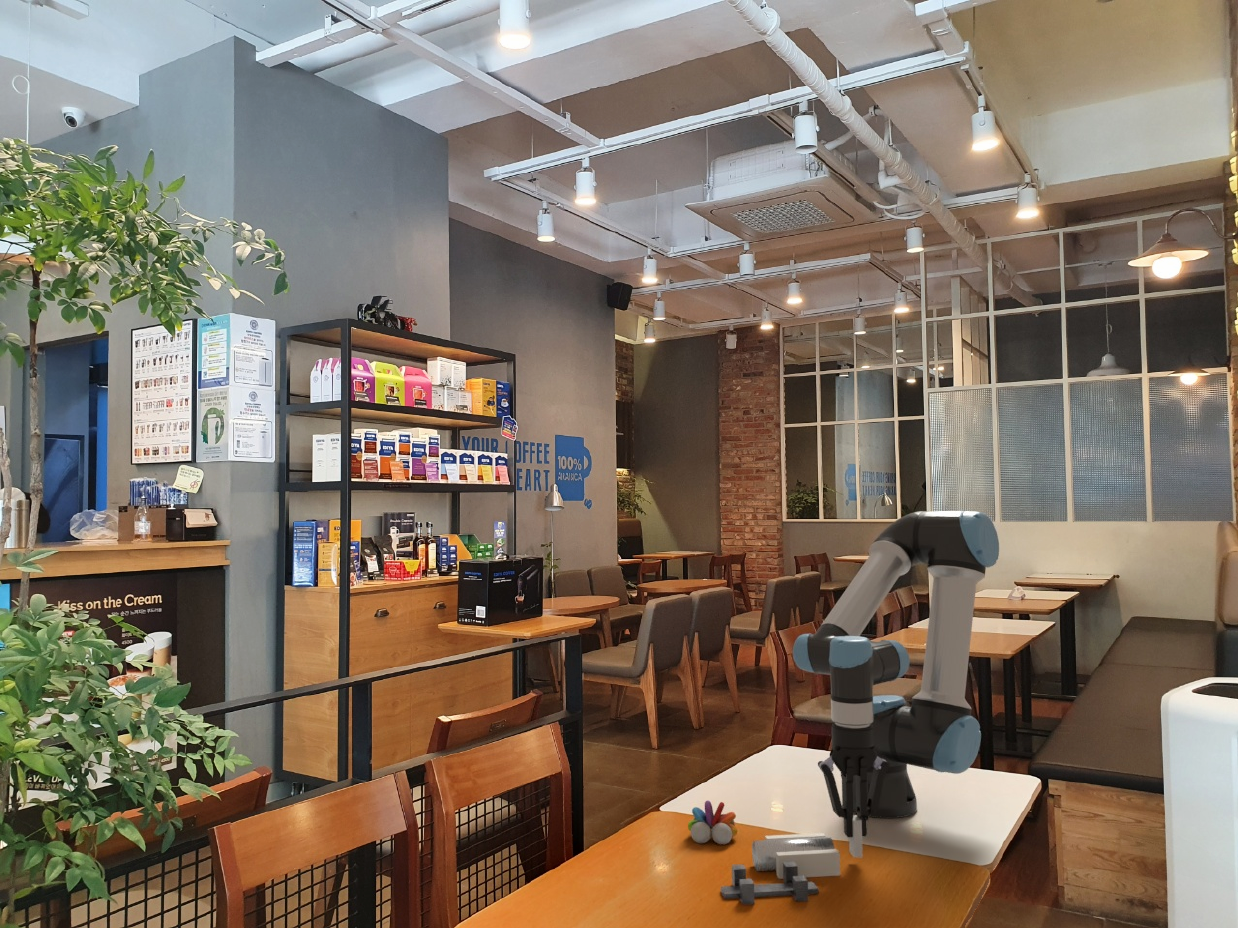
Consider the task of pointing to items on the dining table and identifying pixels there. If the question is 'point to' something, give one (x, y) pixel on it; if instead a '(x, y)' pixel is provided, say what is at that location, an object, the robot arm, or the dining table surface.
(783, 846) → the axle
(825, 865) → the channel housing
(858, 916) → the dining table surface
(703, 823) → the rainbow petal fan toy
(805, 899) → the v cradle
